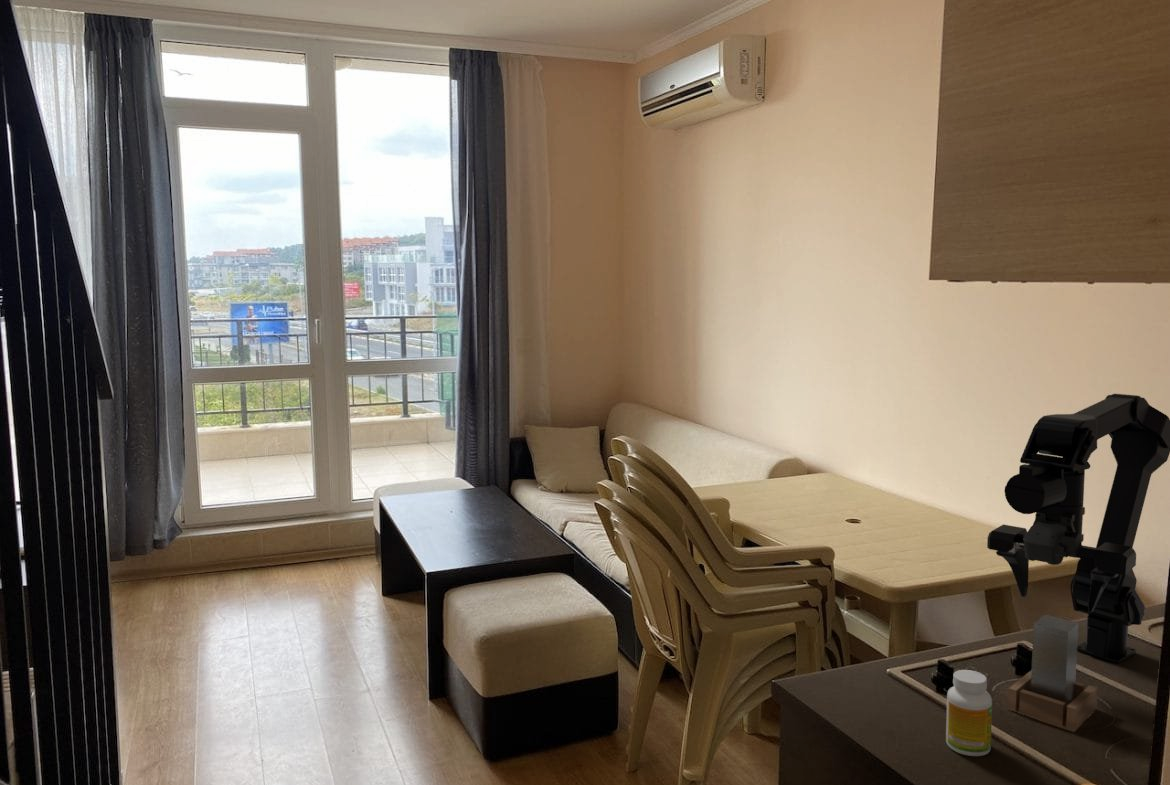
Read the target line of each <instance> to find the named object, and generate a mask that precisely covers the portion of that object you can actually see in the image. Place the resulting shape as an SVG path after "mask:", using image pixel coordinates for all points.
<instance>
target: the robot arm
mask: <svg viewBox="0 0 1170 785" xmlns="http://www.w3.org/2000/svg"><path fill="white" fill-rule="evenodd" d="M1105 436H1109V437H1110V438H1111V440H1110V450H1111V452H1112V455H1113V458H1114V460H1115V462H1116V464H1117V465H1116V469H1115V474H1114V477H1113V482H1112V485H1111V487H1110V488H1111V490H1110V493H1109V496H1108V499H1107V503H1106V508H1105V512H1104V516H1103V520H1102V524H1101V527H1100V531H1099V535H1098V538H1097V542H1096V546H1095V547H1093V546H1089V545H1083V544H1082V543H1083V542H1084V537H1085V534H1083V520H1084V519H1083V518H1084V517H1083V516H1084V515H1085V514H1086V507H1085V506H1084V500H1085V499H1084V495H1085V479H1086V478H1085V474H1086V473H1085V472H1086V470H1089V469H1090V468H1091V464H1090V462H1089V459H1090V457H1091V455H1092V454H1093V453H1094V452H1095V451H1096V450H1097V449H1098V440H1099V439H1101V438H1103V437H1105ZM1169 457H1170V417H1169V416H1168V415H1167V414H1165V413H1163V412H1162V411H1160V410H1159V409H1157V408H1155V407H1153V406H1152V405H1150V403H1149V402H1148V401H1147V399H1146V397H1141V395H1134V394H1124V393H1112V394H1108V395H1106V396H1105V398H1104V399H1102V400H1101V401H1098V402H1096V403H1093V404H1091V405H1089V406H1088V407H1085V408H1083V409H1081V410H1078V411H1077V412H1074V413H1058V414H1057V413H1056V414H1054V413H1053V414H1047V415H1043V416H1042V417H1040V418H1039V419H1038V421H1037V422H1036V423H1035V425H1034V426H1033V428H1032V430H1031V433H1030V435H1029V437H1028V440H1027V442H1026V445H1025V448H1024V450H1023V452H1022V455H1021V457H1020V460H1019V462H1020V463H1021V464H1020V465H1019V469H1018V470H1019V472H1018V473H1017V474H1015V475H1013V476H1012V477H1010V478H1009V479H1008V481H1007V482H1006V485H1005V486H1004V496H1005V500H1006V501H1007V503H1008V505H1009V506H1010V508H1012V509H1013V510H1014V511H1016V512H1018V513H1020V514H1023V515H1024V514H1025V515H1031V514H1035V517H1034V518H1035V519H1034V521H1033V524H1032V526H1031V525H1030V528H1029V529H1028V530H1027V528H1025V527H1020V526H1015V525H1014V526H1013V525H1008V524H1002V525H1000V526H998V527H997V528H995V529H993V530H991V531H990V532H989V533H988V535H987V542H986V544H987V546H986V548H987V549H988V550H991V551H996V552H995V553H996V556H997V557H1002V558H1003V559H1004V560H1005V561H1006V562H1007V564H1009V565H1008V566H1009V567H1010V569H1011V571H1012V574H1013V576H1014V579H1015V582H1016V586H1017V588H1018V591H1019V593H1020V595H1021V597H1022V598H1025V597H1027V595H1028V588H1029V568H1030V567H1029V565H1030V564H1029V563H1030V562H1029V561H1032V562H1035V561H1037V562H1043V563H1047V564H1048V565H1052V566H1057V565H1060V564H1062V562H1063V560H1064V558H1068V557H1070V558H1074V559H1075V558H1077V559H1078V561H1077V566H1076V571H1075V574H1074V576H1073V577H1072V579H1071V582H1070V595H1071V601H1072V606H1073V611H1074V612H1080V613H1083V614H1086V633H1085V634H1086V635H1085V641H1084V642H1082V643H1080V644H1077V652H1082V653H1085V654H1089V655H1091V656H1094V657H1097V658H1100V659H1104V660H1107V661H1110V662H1112V663H1117V664H1118V663H1121V662H1122V661H1124V660H1126V659H1128V658H1129V657H1131V656H1133V655H1135V654H1136V653H1137V649H1135V648H1133V647H1129V646H1128V638H1129V637H1128V635H1129V627H1130V626H1132V625H1133V626H1136V625H1137V626H1140V625H1142V620H1143V619H1144V616H1145V609H1146V606H1145V604H1144V603H1143V601H1142V599H1141V597H1140V595H1139V594H1138V592H1137V591H1136V589H1137V588H1136V587H1137V580H1138V579H1137V578H1136V575H1135V572H1134V568H1135V567H1136V565H1137V553H1136V550H1135V549H1134V543H1135V539H1136V534H1137V533H1138V532H1137V531H1138V528H1139V523H1140V520H1141V516H1142V513H1143V508H1144V504H1145V501H1146V496H1147V492H1148V488H1149V485H1150V480H1151V478H1152V475H1153V473H1154V472H1156V471H1157V470H1158V469H1159V468H1161V466H1163V465H1164V464H1165V463H1166V462H1167V461H1168V459H1169Z"/></svg>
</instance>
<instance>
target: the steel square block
mask: <svg viewBox="0 0 1170 785" xmlns="http://www.w3.org/2000/svg"><path fill="white" fill-rule="evenodd" d="M1032 632H1033V633H1032V634H1033V635H1032V651H1031V652H1032V654H1031V656H1032V657H1031V670H1032V671H1031V670H1030V671H1031V692H1033V693H1036V694H1040V695H1043V696H1046V697H1049V698H1052V699H1056V700H1059V701H1062V702H1065V703H1066V710H1065V717H1066V716H1067V706H1068V705H1069V704H1070V703H1071V702H1072V701H1073V700H1074V699H1075V681H1076V676H1077V658H1078V650H1077V646H1078V642H1079V638H1078V637H1079V622H1078V621H1074V620H1073V621H1072V620H1069V619H1065V618H1061V617H1057V616H1052V615H1048V614H1043V615H1042V616H1041V617H1039V619H1038V620H1036V621H1035V622H1034V623H1033V631H1032Z"/></svg>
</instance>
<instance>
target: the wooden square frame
mask: <svg viewBox="0 0 1170 785" xmlns="http://www.w3.org/2000/svg"><path fill="white" fill-rule="evenodd" d="M1031 671H1032V669H1031V670H1030V671H1028V672H1026V674H1024V675H1023V676H1022V677H1021V678H1020V679H1018V680H1017V681H1015V683H1013V684H1012V685H1011V686H1009V687H1008V704H1007V710H1008V711H1009V710H1012V711H1014V712H1013V713H1015V712H1017V713H1016V714H1018V713H1019V715H1021V714H1022V716H1024V715H1026V716H1025V717H1027V716H1029V717H1028V718H1030V717H1031V718H1030V719H1033V718H1034V719H1033V720H1036V719H1037V721H1039V722H1042V723H1045V724H1048V725H1052V726H1055V727H1058V728H1060V729H1064V730H1066V731H1069V732H1073V733H1075V732H1076V731H1077V730H1078V729H1079V728H1080V727H1081V725H1083V724H1084V723H1085V722H1086V721H1087V720H1088V719H1089V718H1090V717H1091V716H1092V714H1094V712H1095V711H1096V710H1097V703H1098V702H1097V701H1098V687H1096V686H1094V685H1093V686H1092V685H1088V686H1086V685H1087V684H1086V683H1083V682H1079V681H1075V699H1074V700H1073V701H1072V702H1071V703H1070V704H1069V705H1068V706H1067V716H1066V717H1065V710H1066V703H1065V702H1062V701H1059V700H1056V699H1052V698H1049V697H1046V696H1043V695H1040V694H1036V693H1033V692H1031ZM1095 709H1096V710H1095ZM1094 710H1095V711H1094ZM1012 711H1011V712H1012ZM1093 711H1094V712H1093ZM1091 713H1092V714H1091ZM1087 718H1088V719H1087ZM1086 719H1087V720H1086ZM1085 720H1086V721H1085ZM1084 721H1085V722H1084Z"/></svg>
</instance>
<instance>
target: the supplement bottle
mask: <svg viewBox="0 0 1170 785" xmlns="http://www.w3.org/2000/svg"><path fill="white" fill-rule="evenodd" d="M952 676H953V679H952V684H953V686H951V687H949V689H948V690H947V693H946V719H945V720H946V721H945V722H946V724H945V726H946V727H945V742H946V745H947V747H949V749H951V750H952V751H954V752H956V753H957V754H960V755H963V756H968V757H982V756H986V755H988V754H989V753H990V751H991V749H992V748H991V747H992V720H993V714H992V713H993V699H992V696H991V693H989V692H988V691H987V690H988V689H987V687H988V686H987V685H988V683H987V682H988V679H987V676H986V675H984V673H983V674H982V673H981V672H979V671H975V670H970V669H959V670H956V671H955V672H953V675H952Z"/></svg>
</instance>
